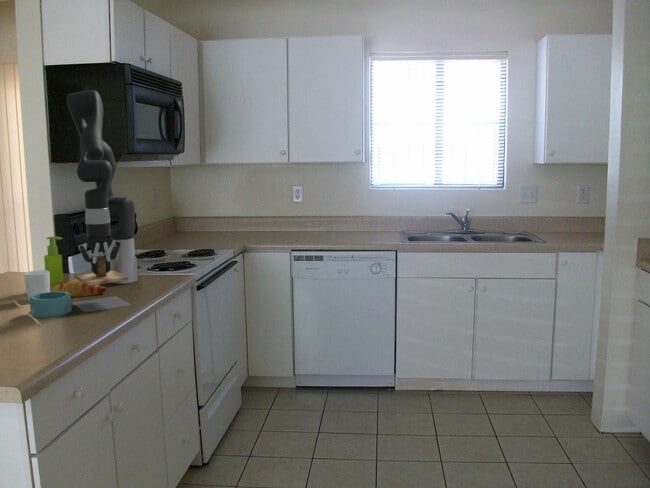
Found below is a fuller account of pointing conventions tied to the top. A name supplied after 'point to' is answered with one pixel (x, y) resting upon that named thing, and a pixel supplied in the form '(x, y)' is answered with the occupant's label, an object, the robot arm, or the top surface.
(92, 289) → the croissant
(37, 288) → the white cup
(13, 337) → the top surface
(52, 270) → the soap dispenser
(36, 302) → the bowl
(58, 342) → the top surface
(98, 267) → the lid
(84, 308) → the mat
